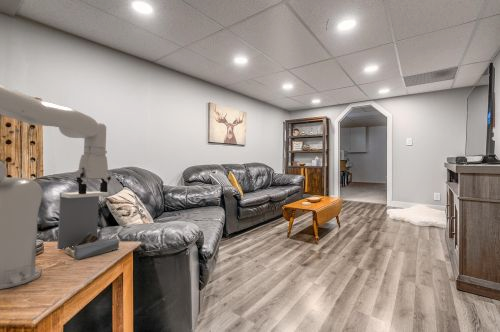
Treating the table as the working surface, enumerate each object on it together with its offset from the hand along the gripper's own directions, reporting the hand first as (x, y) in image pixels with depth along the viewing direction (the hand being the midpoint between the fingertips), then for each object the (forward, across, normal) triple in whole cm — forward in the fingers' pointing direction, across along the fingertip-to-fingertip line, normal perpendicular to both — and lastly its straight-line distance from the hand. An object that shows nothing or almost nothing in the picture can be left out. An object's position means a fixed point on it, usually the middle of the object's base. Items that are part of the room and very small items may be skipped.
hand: (93, 192), depth 94 cm
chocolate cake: (+26, -4, -6) cm, 27 cm away
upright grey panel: (+25, -5, -11) cm, 28 cm away
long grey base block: (+25, -2, -2) cm, 25 cm away
